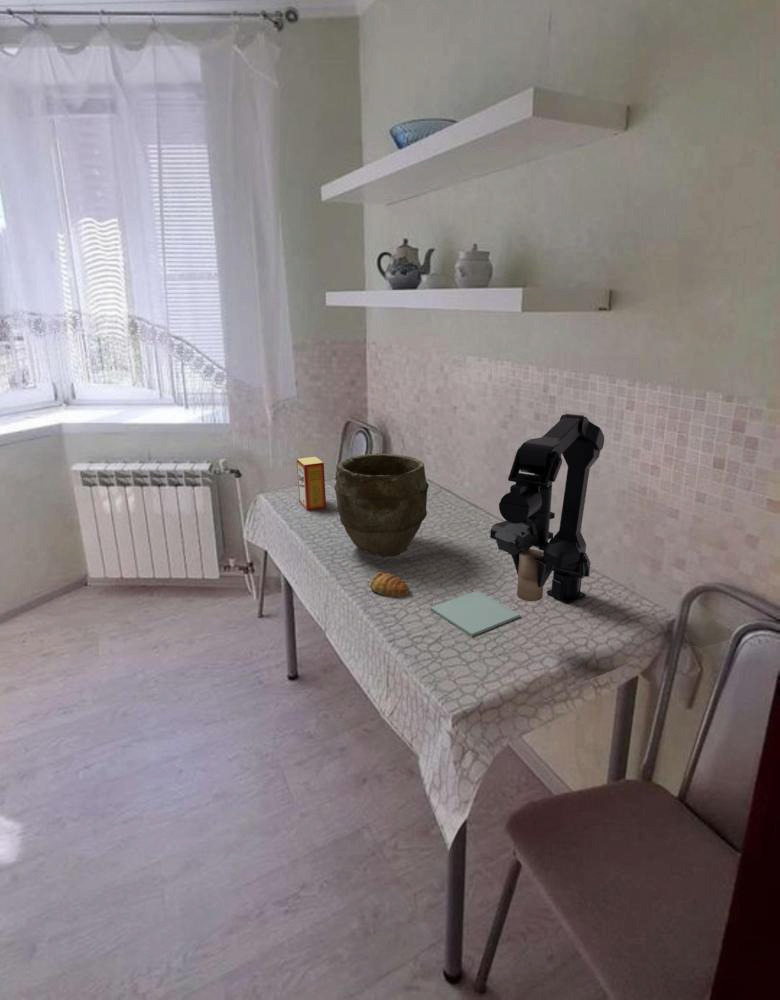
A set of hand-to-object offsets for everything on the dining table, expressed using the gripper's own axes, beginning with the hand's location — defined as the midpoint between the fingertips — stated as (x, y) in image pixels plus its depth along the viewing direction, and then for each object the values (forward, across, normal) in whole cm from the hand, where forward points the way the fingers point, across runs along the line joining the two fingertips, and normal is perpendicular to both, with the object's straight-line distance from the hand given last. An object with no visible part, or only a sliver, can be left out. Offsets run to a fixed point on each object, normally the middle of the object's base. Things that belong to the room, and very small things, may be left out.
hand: (530, 581), depth 123 cm
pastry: (+13, -35, -11) cm, 39 cm away
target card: (+13, -14, -2) cm, 19 cm away
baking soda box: (+13, -102, +3) cm, 103 cm away
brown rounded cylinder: (+3, 0, 0) cm, 3 cm away
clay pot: (+13, -57, +2) cm, 59 cm away
